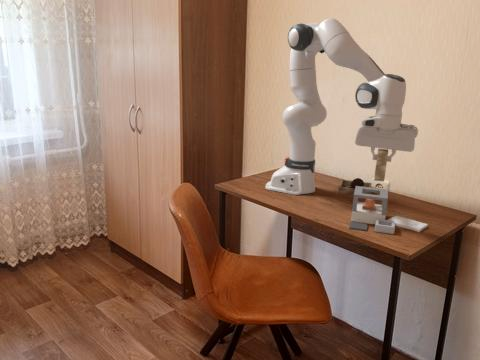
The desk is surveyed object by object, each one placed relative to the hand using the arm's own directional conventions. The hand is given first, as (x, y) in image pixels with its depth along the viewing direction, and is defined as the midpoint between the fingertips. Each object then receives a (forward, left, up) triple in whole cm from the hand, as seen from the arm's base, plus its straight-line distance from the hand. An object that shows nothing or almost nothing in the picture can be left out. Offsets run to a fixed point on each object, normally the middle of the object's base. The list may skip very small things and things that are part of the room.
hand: (381, 160), depth 167 cm
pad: (-5, -7, -24) cm, 25 cm away
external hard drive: (+12, +3, -25) cm, 28 cm away
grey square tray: (+4, -6, -24) cm, 25 cm away
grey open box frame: (-2, +4, -24) cm, 24 cm away
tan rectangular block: (0, 0, -7) cm, 7 cm away
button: (-2, +4, -20) cm, 20 cm away
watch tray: (-9, +40, -24) cm, 48 cm away
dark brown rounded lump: (-11, +38, -24) cm, 46 cm away
